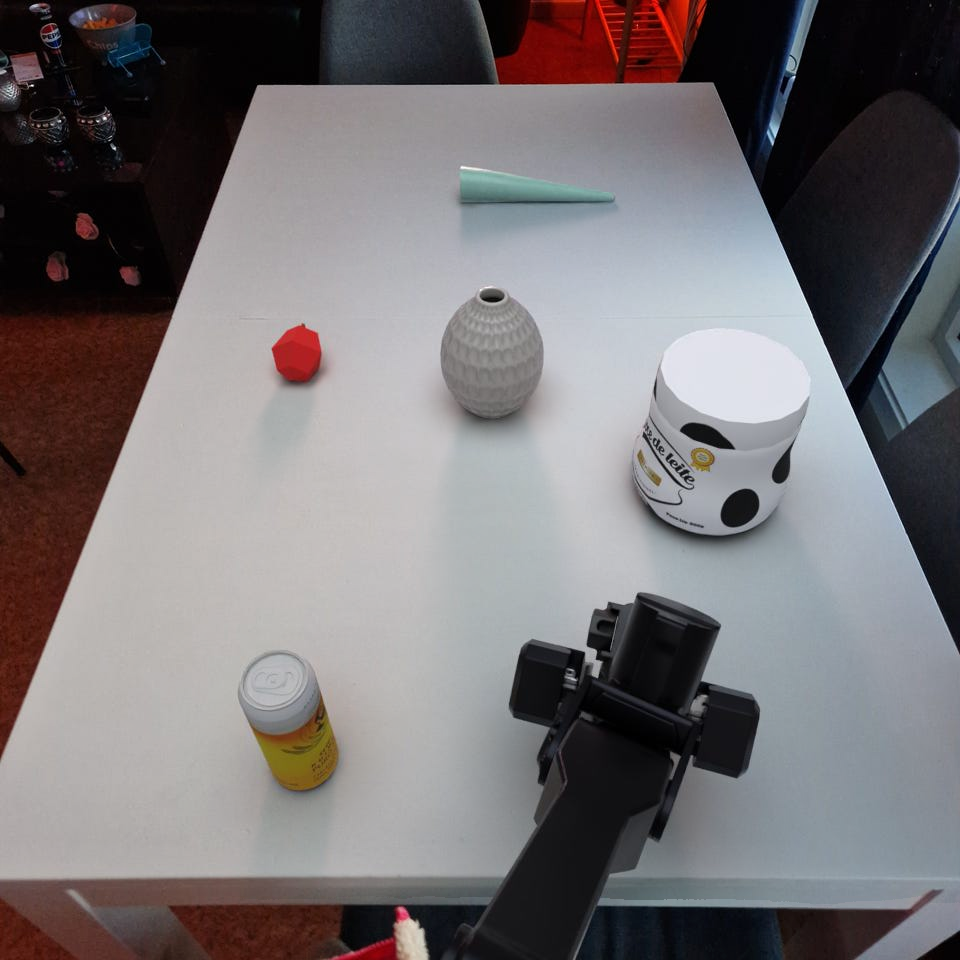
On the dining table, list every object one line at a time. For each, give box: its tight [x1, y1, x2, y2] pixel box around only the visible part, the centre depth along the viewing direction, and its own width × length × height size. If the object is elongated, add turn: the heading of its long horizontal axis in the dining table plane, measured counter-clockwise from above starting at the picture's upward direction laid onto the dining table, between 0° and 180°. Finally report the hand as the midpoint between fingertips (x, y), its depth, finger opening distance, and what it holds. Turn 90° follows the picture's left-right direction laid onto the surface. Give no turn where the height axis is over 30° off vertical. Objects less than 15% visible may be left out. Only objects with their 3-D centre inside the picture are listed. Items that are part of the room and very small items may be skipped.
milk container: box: [631, 327, 811, 537], centre depth 90 cm, size 17×17×18 cm
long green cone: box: [459, 165, 616, 203], centre depth 141 cm, size 5×6×27 cm
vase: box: [439, 285, 545, 419], centre depth 102 cm, size 13×13×17 cm
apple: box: [271, 322, 323, 383], centre depth 110 cm, size 7×7×8 cm
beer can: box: [237, 648, 339, 791], centre depth 69 cm, size 6×6×15 cm
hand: (633, 679), depth 73 cm, fingers open, 7 cm apart
